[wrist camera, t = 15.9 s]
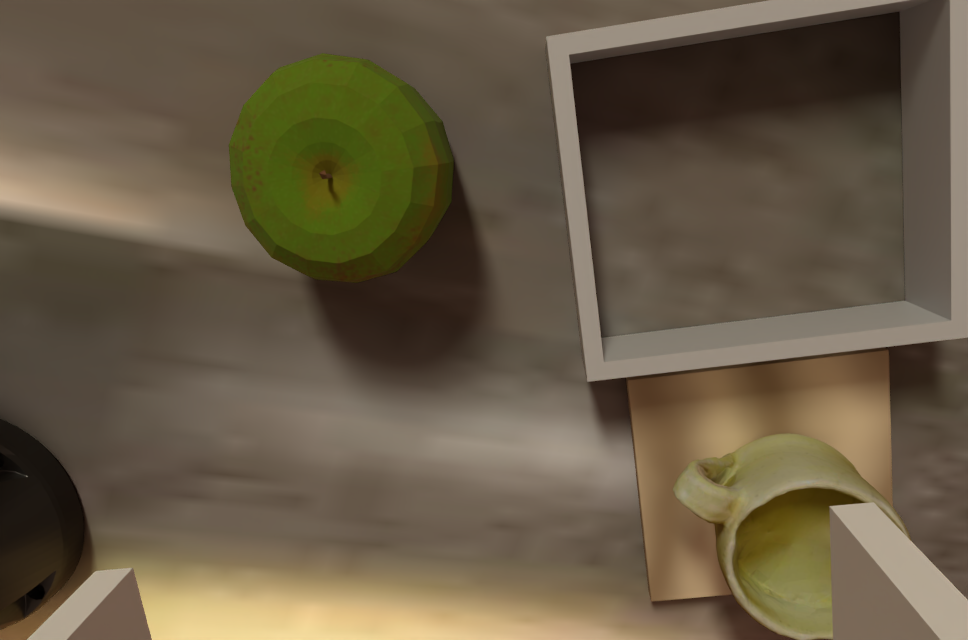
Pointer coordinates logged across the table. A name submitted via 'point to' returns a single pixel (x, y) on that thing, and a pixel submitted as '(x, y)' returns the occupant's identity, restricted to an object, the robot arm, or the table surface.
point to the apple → (340, 168)
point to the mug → (778, 525)
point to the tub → (926, 191)
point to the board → (745, 442)
